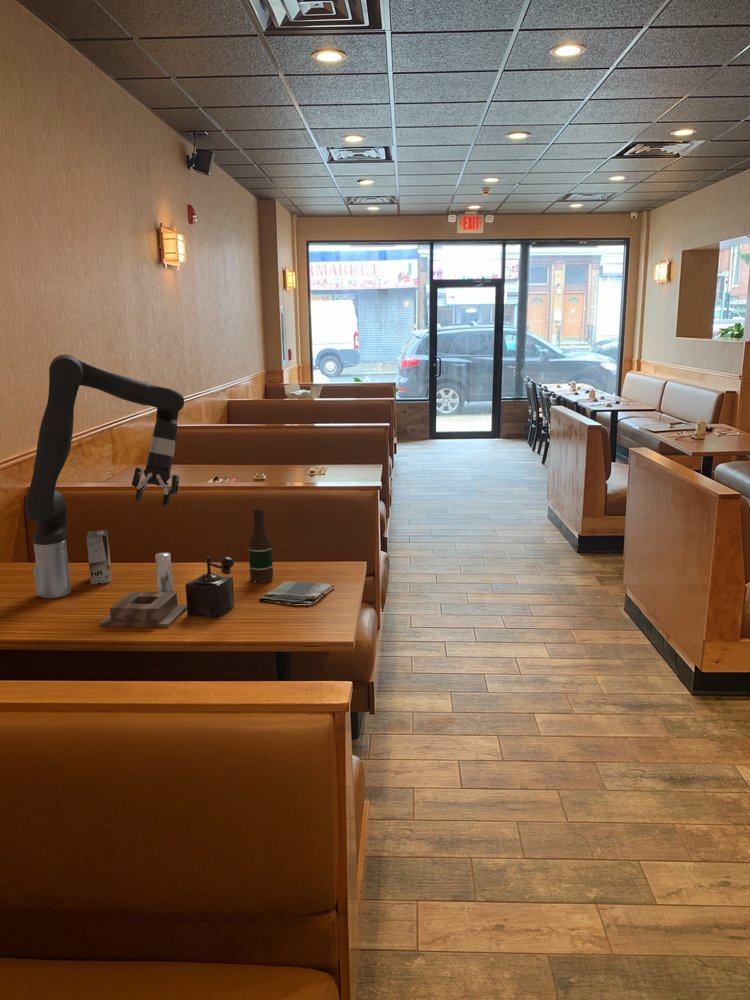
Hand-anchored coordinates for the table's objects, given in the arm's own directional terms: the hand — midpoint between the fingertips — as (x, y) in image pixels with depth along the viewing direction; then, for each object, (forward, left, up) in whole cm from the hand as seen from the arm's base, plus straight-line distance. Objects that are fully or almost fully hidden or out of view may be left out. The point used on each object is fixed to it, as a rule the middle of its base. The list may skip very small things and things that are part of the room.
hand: (151, 504), depth 237 cm
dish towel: (+46, -4, -28) cm, 54 cm away
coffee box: (-23, +8, -28) cm, 37 cm away
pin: (+6, -9, -28) cm, 30 cm away
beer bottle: (+31, +11, -28) cm, 43 cm away
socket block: (+6, -25, -28) cm, 38 cm away
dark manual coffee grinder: (+26, -20, -28) cm, 43 cm away
